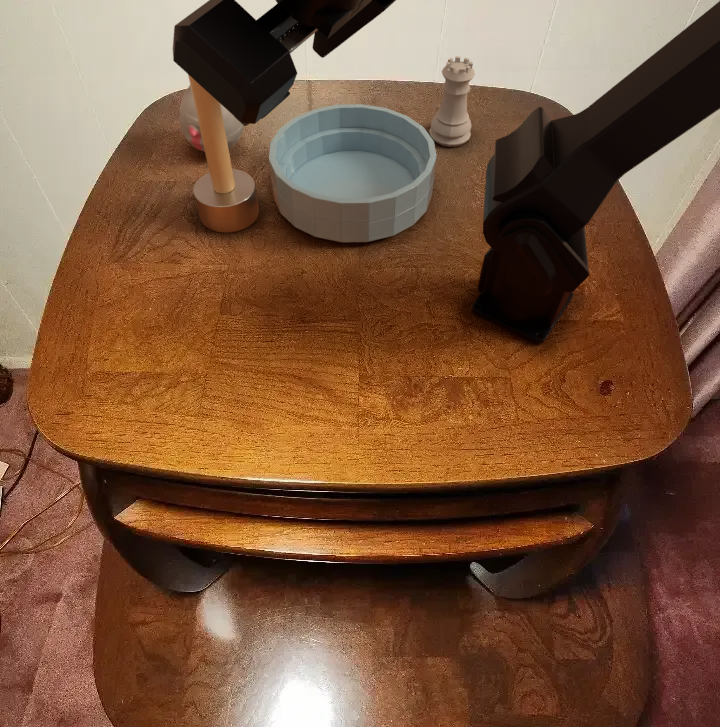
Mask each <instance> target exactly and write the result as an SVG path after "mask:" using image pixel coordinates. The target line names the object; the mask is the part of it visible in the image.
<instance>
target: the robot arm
mask: <svg viewBox="0 0 720 727" xmlns="http://www.w3.org/2000/svg"><path fill="white" fill-rule="evenodd" d="M396 1H397V0H275V2H276V4H274V6H272V7H271V8H269V10H268V11H266V12H264V14H262V15H261V16H260V17H258V18H257V19H256V18H255V17H254V16H253V15H252V14H250V13H249V12H248V11H247V10H246V9H245V8H244V7H243V6H242V5H241V4H239V2H238V1H236V0H208V1H206V2H205V3H203V4H202V5H201V6H199V7H198V8H197V9H195V10H194V11H193V12H191V13H190V14H188V15H187V16H186V17H184V18H183V19H181V20H180V21H179V22H177V23H176V24H175V25H174V27H173V40H172V60H173V63H175V64H176V65H177V66H178V67H179V68H181V69H182V70H183V71H184V72H185V73H186V74H187V76H188V75H189V76H191V77H192V78H193V79H194V80H195V81H196V82H197V83H198V84H199V85H200V86H202V87H203V88H204V89H205V90H206V91H207V92H208V93H209V94H210V95H211V96H213V97H214V98H215V99H216V100H217V101H218V102H219V103H220V104H221V105H222V106H223V107H225V108H226V109H227V110H228V111H229V112H230V113H231V114H232V115H233V116H234V117H235V118H236V119H237V120H238V121H239V122H240V123H241V124H243V125H244V127H247V126H249V125H256V124H257V123H258V122H259V121H260V120H262V119H264V118H265V117H267V116H268V115H269V114H270V113H271V112H273V111H274V110H275V109H276V108H277V107H278V106H279V105H281V103H282V102H284V101H285V100H286V99H287V98H288V97H289V96H290V95H291V92H290V90H291V88H292V87H293V86H294V84H295V81H296V78H297V76H298V70H297V68H296V65H295V63H294V60H293V57H292V53H293V52H294V51H295V50H296V49H298V48H299V47H300V46H301V45H303V44H304V43H305V42H306V41H307V40H308V39H309V38H311V36H313V42H312V50H313V51H314V52H315V53H316V54H317V55H318V56H319V57H320V58H321V59H323V58H325V57H327V56H328V55H329V54H331V53H332V52H333V51H335V50H336V49H337V48H339V47H340V46H341V45H342V44H344V43H345V42H346V41H347V40H349V39H350V38H351V37H353V36H354V35H355V34H356V33H358V32H359V31H360V30H361V29H363V28H364V27H365V26H367V25H369V23H371V22H373V20H375V19H376V18H377V17H378V16H380V15H382V14H383V13H384V12H386V10H387V9H389V7H391V6H392V5H393V4H394V3H395V2H396ZM189 76H188V77H189ZM719 110H720V0H719V1H718V2H717V3H716V4H714V5H713V6H712V7H710V8H709V9H708V10H707V11H705V12H704V13H703V14H702V15H701V16H699V17H698V18H697V19H695V20H694V21H693V22H692V23H691V24H689V25H688V26H687V27H686V28H684V29H683V30H682V31H681V32H679V33H678V34H676V36H674V37H673V38H672V39H671V40H670V41H668V42H667V43H666V44H664V45H663V46H662V47H661V48H659V49H658V50H657V51H656V52H654V53H653V54H652V55H651V56H650V57H648V58H647V59H646V60H644V61H643V62H642V63H641V64H640V65H639V66H637V67H636V68H634V70H632V71H631V72H630V73H629V74H627V75H626V76H625V77H623V78H622V79H621V80H620V81H619V82H617V83H616V84H615V85H614V86H612V87H611V88H610V89H609V90H607V91H606V92H605V93H603V94H602V95H601V96H600V97H598V99H596V100H595V101H594V102H592V103H591V104H590V105H588V107H586V108H584V109H583V110H581V111H580V112H578V113H575V114H572V115H568V116H564V117H560V118H556V119H551V117H550V116H549V114H548V113H547V112H546V110H545V108H544V107H542V106H538V107H537V108H536V109H534V110H533V111H531V112H530V113H529V115H528V116H527V117H526V118H525V120H523V122H522V123H521V124H520V125H519V126H518V127H517V128H516V129H514V130H513V131H511V132H510V133H509V134H507V135H505V136H503V137H500V138H497V139H495V142H494V153H493V155H492V156H491V157H490V158H489V161H488V163H487V166H486V171H485V185H484V200H483V202H484V203H483V218H482V235H483V237H484V240H485V242H486V243H487V245H488V246H489V247H490V248H489V249H488V250H487V251H486V252H485V254H484V256H483V260H482V265H481V269H480V270H481V271H480V274H479V278H478V282H477V287H476V289H477V292H478V293H480V294H479V296H478V297H477V298H476V299H475V301H474V302H473V303H472V305H471V312H472V313H473V314H474V315H476V316H479V317H481V318H483V319H485V320H487V321H489V322H491V323H493V324H495V325H497V326H500V327H502V328H503V329H506V330H507V331H510V332H512V333H514V334H516V335H519V336H520V337H522V338H524V339H526V340H529V341H531V342H533V343H535V344H537V345H542V344H544V343H545V342H546V340H547V339H548V337H549V336H550V334H551V332H552V331H553V329H554V328H555V326H556V325H557V323H558V322H559V320H560V318H562V316H563V314H564V312H565V311H566V310H567V308H568V306H569V305H570V303H571V302H572V300H573V297H574V293H573V292H574V291H576V290H577V289H578V288H579V287H580V285H581V284H582V283H583V282H585V281H586V279H588V277H589V276H590V270H589V258H588V247H587V235H586V226H587V225H588V224H589V223H590V222H591V220H592V219H593V217H594V216H595V214H596V213H597V211H598V210H599V208H600V207H601V206H602V205H603V203H604V201H605V200H606V199H607V197H608V196H609V194H610V192H611V191H612V190H613V188H614V187H615V185H616V184H617V183H618V181H619V180H620V179H621V178H622V177H623V176H624V175H626V174H627V173H629V172H630V171H631V170H633V169H634V168H636V167H637V166H639V165H640V164H642V163H643V162H645V161H646V160H647V159H649V158H651V157H652V156H653V155H655V154H656V153H659V151H661V150H662V149H663V148H665V147H667V146H668V145H669V144H671V143H672V142H673V141H675V140H677V139H678V138H679V137H681V136H683V135H684V134H686V133H687V132H688V131H690V130H692V129H693V128H694V127H696V126H697V125H699V124H700V123H701V122H703V121H704V120H706V119H707V118H709V117H710V116H712V115H714V113H716V112H717V111H719Z"/></svg>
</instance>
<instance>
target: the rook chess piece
mask: <svg viewBox="0 0 720 727" xmlns="http://www.w3.org/2000/svg"><path fill="white" fill-rule="evenodd" d="M473 63H474V62H473V61H470V58H468V57H464V58H463V61H461V56H454V58H452V57H450V58H448V59H447V61H446V65H444V67H443V68H442V70H441V74H442V77H443V78H444V80H445V81H444V82H443V84H442V86H441V87H442V90H443V93H442V99H441V102H440V106H439V109H438V110H437V111H436V113H435V115H433V117H432V120H431V121H430V128H429V135H430V137H431V138H432V139H433V141H434V143H435V144H436V143H437V144H438V145H440V146H442V147H449V148H452V147H453V148H454V147H455V148H457V147H459V146H462V145H463V144H465V143H466V142H467V141H468V140H470V138H471V135H472V132H471V130H472V121H471V118H470V115H469V112H468V94H469V92H470V91H471V85H470V82H471V80H472V79H473V78H475V75H476V72H475V70H474V68H473V65H474V64H473Z"/></svg>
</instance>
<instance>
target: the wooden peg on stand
mask: <svg viewBox="0 0 720 727" xmlns="http://www.w3.org/2000/svg"><path fill="white" fill-rule="evenodd" d="M187 76H188V80H189V81H188V82H189V86H190V85H191V90H192V95H193V99H194V104H195V108H196V113H197V117H198V122H199V126H200V131H201V135H202V140H203V144H204V149H205V152H204V153H205V158H206V163H207V167H208V172H207V173H205V174H203V175H202V176H200V177H199V178H198V179H197V180H196V182H195V183H194V185H193V190H192V191H193V197H194V201H195V205H196V208H197V211H198V212H197V213H198V216H199V220H200V222H201V224H202V225H203V226H204V227H206V228H207V229H208V230H210V231H214V232H216V233H217V232H218V233H223V234H224V233H227V234H228V233H235V232H240V231H243V230H245V229H247V228H249V227H250V226H251V225H253V224H254V223H255V222H256V220H257V219H258V217H259V215H260V207H259V200H258V194H257V188H256V182H255V179H254V178H253V177H252V175H250V174H249V173H247V172H245V171H243V170H241V169H238V168H237V169H236V168H233V166H232V160H231V155H230V149H228V144H227V138H226V133H225V127H224V122H223V117H222V111H221V106H220V103H219V102H218V101H217V100H216V99H215V98H214V97H213V96H211V95H210V94H209V93H208V92H207V91H206V90H205V89H204V88H203V87H202V86H200V85H199V84H198V83H197V82H196V81H195V80H194V79H193V78H192V77H191V76H189V75H188V74H187Z"/></svg>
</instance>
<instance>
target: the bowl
mask: <svg viewBox="0 0 720 727" xmlns="http://www.w3.org/2000/svg"><path fill="white" fill-rule="evenodd" d="M268 163H269V173H270V180H271V188H272V196H273V199H274V202H275V204H276V207H277V209H278V212H279V213H280V215H282V216H283V217H284V218H285V219H286V220H287V221H288V222H289V223H290V224H291V225H292V226H293V227H295V228H296V229H298V230H300V231H302V232H304V233H307V234H309V235H311V236H312V237H315V238H319V239H323V240H329V241H332V242H333V241H334V242H338V243H368V242H373V241H378V240H382V239H386V238H391V237H394V236H395V235H398V234H399V233H402V232H403V231H405V230H407V229H409V228H411V227H413V226H414V225H415V224H416V223H417V222H418V221H419V220H420V219H421V217H422V216H423V215H424V214H425V213H426V212H427V211H428V208H429V205H430V203H431V200H432V196H433V190H434V182H435V173H436V164H437V151H436V146H435V141H434V140H433V139H432V137H431V136H430V133H429V132H428V131H427V129H425V127H424V126H423V125H421V124H420V123H418V122H417V121H416V120H414V119H413V118H411V117H409V115H406V114H404V113H400V112H398V111H395V110H393V109H390V108H387V107H382V106H377V105H370V104H363V103H361V104H360V103H353V104H350V103H349V104H348V103H347V104H345V103H344V104H343V103H342V104H341V103H340V104H333V105H328V106H322V107H317V108H314V109H311V110H309V111H307V112H304V113H302V114H300V115H297V116H294V117H293V118H292V119H290V120H289V121H288V122H286V123H285V124H283V126H281V127H280V128H279V129H278V130H277V132H276V134H275V135H274V136H273V137H272V139H271V141H270V143H269V151H268Z"/></svg>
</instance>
